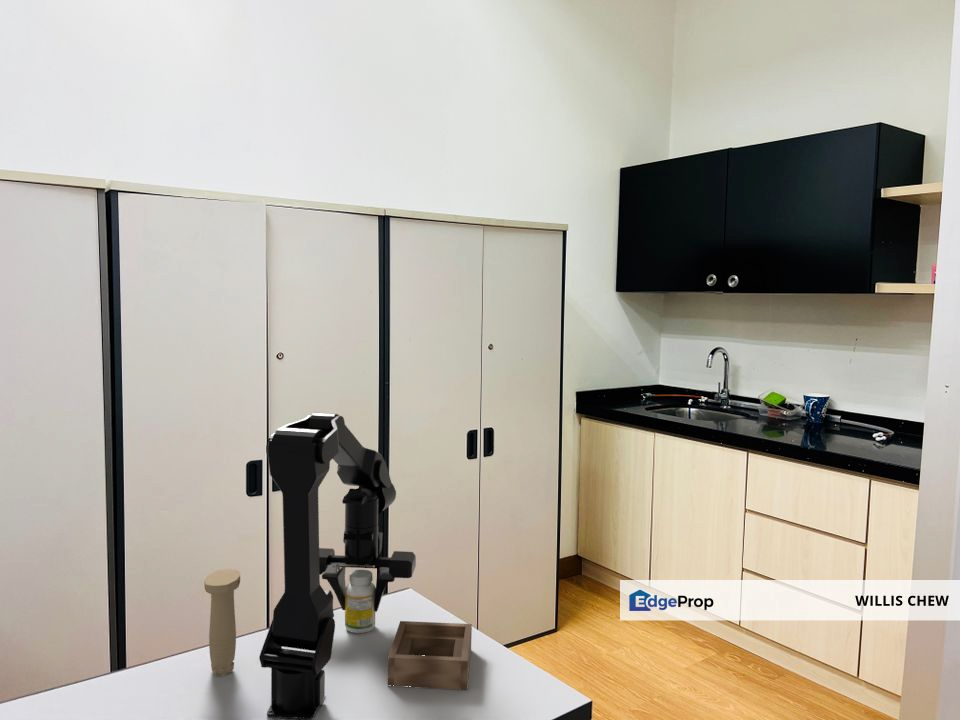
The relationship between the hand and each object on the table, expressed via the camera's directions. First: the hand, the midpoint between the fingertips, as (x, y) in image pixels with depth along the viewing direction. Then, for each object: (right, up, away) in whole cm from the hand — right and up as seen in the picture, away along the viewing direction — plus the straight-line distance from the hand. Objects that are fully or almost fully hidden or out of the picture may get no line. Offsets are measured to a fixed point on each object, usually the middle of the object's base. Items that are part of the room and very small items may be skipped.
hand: (360, 609), depth 121 cm
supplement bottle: (0, -3, 0) cm, 3 cm away
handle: (-19, -4, -15) cm, 24 cm away
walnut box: (+13, -5, -12) cm, 19 cm away
